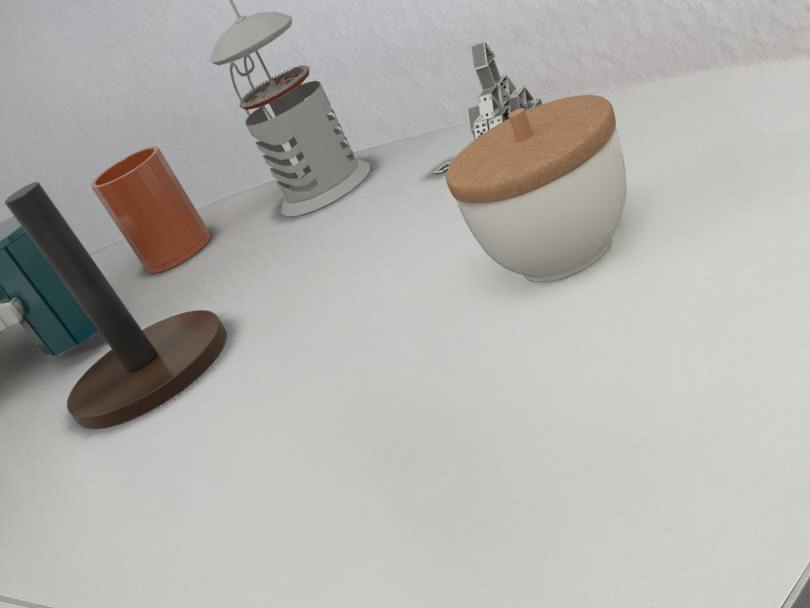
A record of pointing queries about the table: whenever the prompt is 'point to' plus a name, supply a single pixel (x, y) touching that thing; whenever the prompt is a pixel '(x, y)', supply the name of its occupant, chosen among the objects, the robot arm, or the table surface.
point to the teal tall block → (40, 293)
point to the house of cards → (493, 95)
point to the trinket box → (544, 187)
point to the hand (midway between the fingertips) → (46, 282)
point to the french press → (291, 120)
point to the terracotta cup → (151, 210)
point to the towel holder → (117, 328)
